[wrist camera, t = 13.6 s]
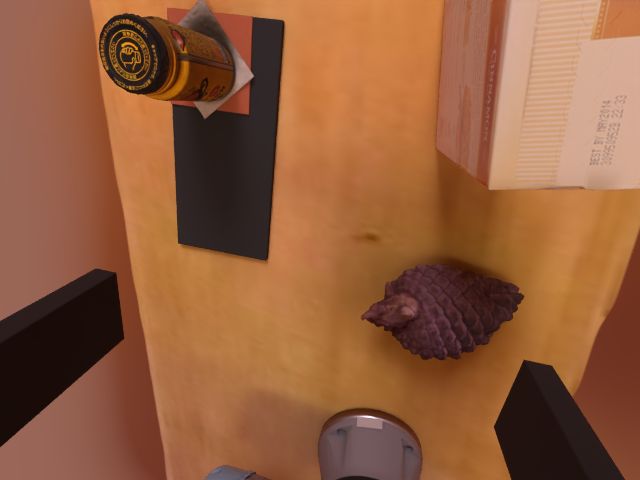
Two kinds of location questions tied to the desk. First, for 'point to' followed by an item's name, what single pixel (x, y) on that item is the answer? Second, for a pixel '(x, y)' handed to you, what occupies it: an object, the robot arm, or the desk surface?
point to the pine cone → (444, 310)
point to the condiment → (174, 58)
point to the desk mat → (231, 148)
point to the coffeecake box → (542, 93)
